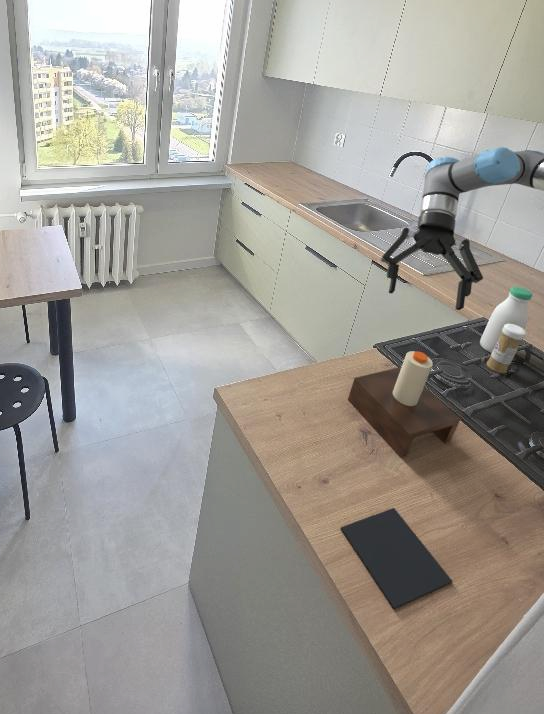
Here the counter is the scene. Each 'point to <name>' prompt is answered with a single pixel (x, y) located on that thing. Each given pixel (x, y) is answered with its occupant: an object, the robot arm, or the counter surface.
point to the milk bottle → (506, 316)
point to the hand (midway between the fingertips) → (424, 300)
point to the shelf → (400, 411)
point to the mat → (395, 557)
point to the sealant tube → (412, 378)
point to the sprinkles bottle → (506, 348)
